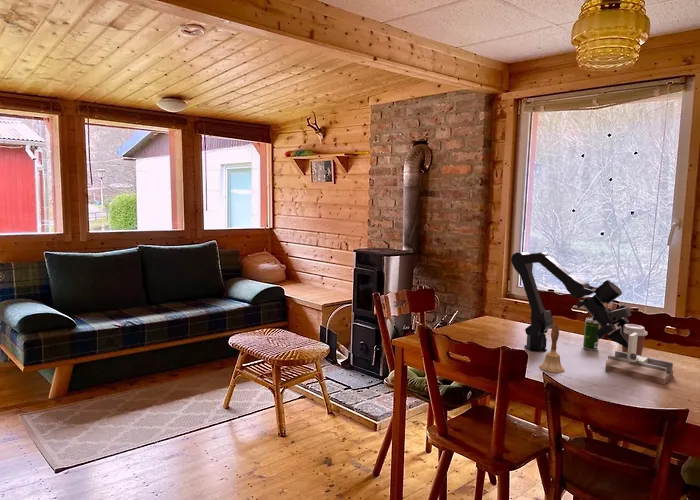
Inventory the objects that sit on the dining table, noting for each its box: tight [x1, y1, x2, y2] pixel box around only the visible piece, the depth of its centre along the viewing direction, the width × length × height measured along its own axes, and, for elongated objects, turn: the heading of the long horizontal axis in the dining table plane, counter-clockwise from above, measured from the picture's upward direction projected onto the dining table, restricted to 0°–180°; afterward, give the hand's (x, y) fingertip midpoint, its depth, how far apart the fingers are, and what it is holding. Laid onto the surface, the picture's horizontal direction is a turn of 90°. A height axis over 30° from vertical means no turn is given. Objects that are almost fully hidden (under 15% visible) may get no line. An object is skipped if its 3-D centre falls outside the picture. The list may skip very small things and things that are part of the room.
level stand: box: [604, 350, 674, 385], centre depth 179 cm, size 18×12×5 cm, turn 46°
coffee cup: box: [621, 323, 648, 356], centre depth 196 cm, size 9×9×12 cm
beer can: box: [582, 317, 601, 351], centre depth 206 cm, size 5×5×12 cm
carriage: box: [627, 333, 648, 363], centre depth 178 cm, size 5×9×11 cm, turn 136°
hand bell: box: [538, 323, 565, 374], centre depth 180 cm, size 8×8×16 cm
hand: (629, 347), depth 181 cm, fingers closed, pressing on carriage
